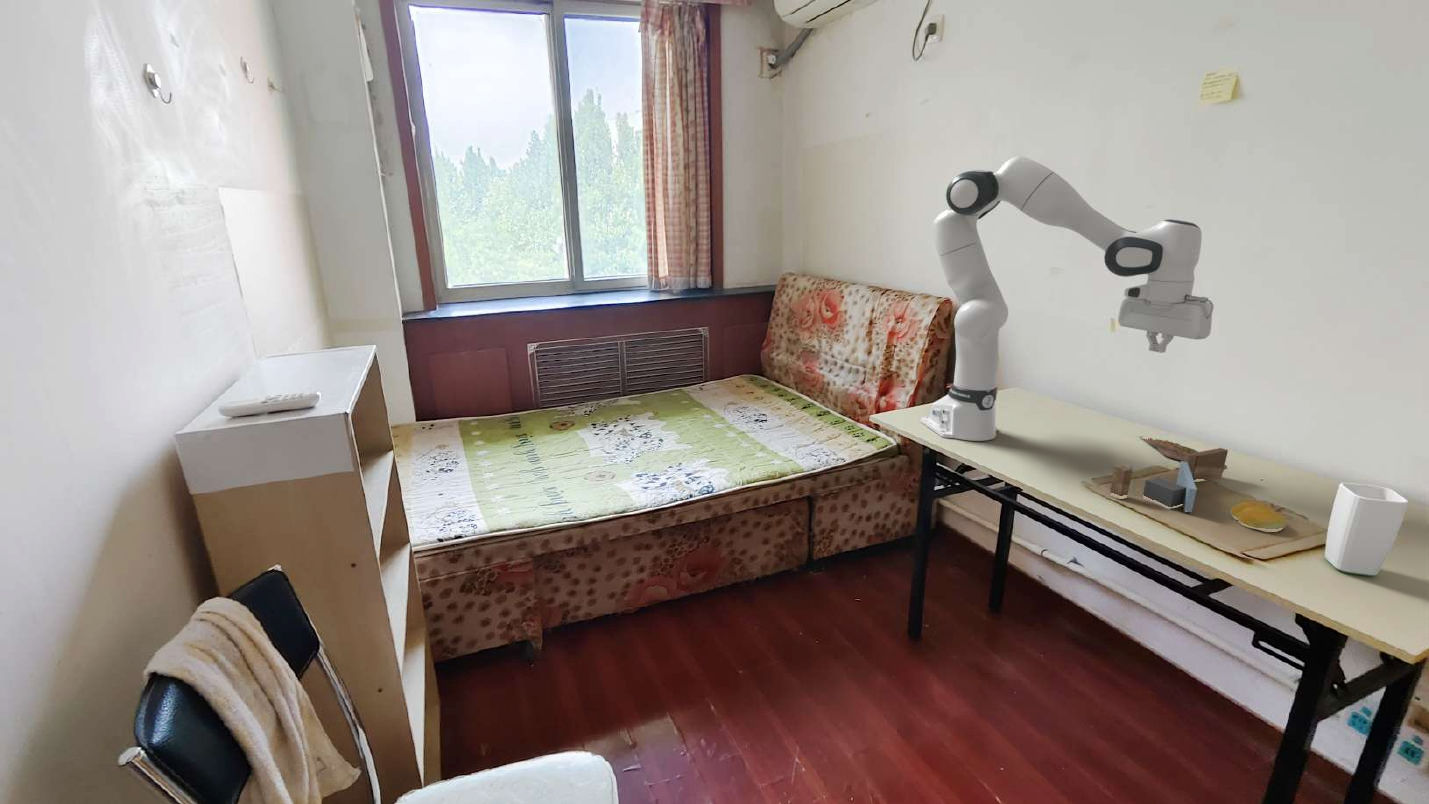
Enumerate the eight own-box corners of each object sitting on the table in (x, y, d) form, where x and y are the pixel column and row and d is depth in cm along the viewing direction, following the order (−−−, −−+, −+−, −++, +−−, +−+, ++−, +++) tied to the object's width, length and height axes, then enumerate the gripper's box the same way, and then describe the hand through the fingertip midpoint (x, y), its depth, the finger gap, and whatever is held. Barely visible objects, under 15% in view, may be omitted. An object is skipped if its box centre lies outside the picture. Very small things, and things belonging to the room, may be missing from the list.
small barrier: (1109, 495, 144) (1114, 466, 142) (1212, 474, 154) (1219, 447, 152) (1119, 499, 142) (1124, 470, 140) (1223, 478, 152) (1229, 450, 150)
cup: (1333, 574, 113) (1357, 497, 108) (1314, 554, 119) (1335, 481, 115) (1387, 582, 110) (1414, 504, 106) (1364, 561, 117) (1388, 486, 112)
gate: (1184, 512, 135) (1189, 488, 134) (1176, 483, 149) (1181, 461, 148) (1191, 513, 135) (1196, 489, 133) (1182, 484, 149) (1187, 462, 147)
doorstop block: (1142, 498, 142) (1145, 480, 141) (1154, 495, 144) (1158, 477, 143) (1169, 510, 137) (1173, 490, 136) (1181, 506, 139) (1186, 487, 137)
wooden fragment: (1238, 473, 156) (1239, 469, 156) (1195, 474, 155) (1196, 470, 155) (1162, 437, 181) (1163, 433, 180) (1124, 438, 180) (1125, 434, 180)
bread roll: (1246, 532, 128) (1250, 514, 127) (1223, 512, 136) (1227, 495, 135) (1295, 537, 126) (1300, 518, 125) (1269, 516, 134) (1273, 499, 133)
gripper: (1224, 297, 140) (1211, 359, 144) (1137, 287, 158) (1127, 342, 162) (1204, 299, 138) (1191, 361, 142) (1118, 288, 156) (1109, 344, 160)
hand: (1156, 351), depth 152 cm, fingers closed
